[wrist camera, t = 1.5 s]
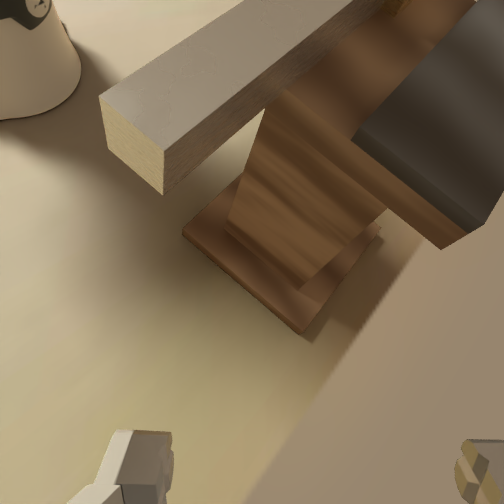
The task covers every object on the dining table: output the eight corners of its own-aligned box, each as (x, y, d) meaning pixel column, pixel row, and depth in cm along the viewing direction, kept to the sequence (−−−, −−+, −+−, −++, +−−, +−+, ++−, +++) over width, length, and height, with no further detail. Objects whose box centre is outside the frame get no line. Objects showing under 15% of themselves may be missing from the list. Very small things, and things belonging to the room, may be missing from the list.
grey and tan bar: (181, 211, 16) (187, 160, 13) (90, 133, 17) (74, 66, 13) (437, -22, 26) (476, -82, 23) (376, -66, 27) (406, -132, 23)
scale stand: (298, 334, 41) (483, 224, 18) (182, 234, 43) (211, 10, 19) (375, 233, 48) (582, 55, 25) (272, 149, 49) (375, -95, 26)
